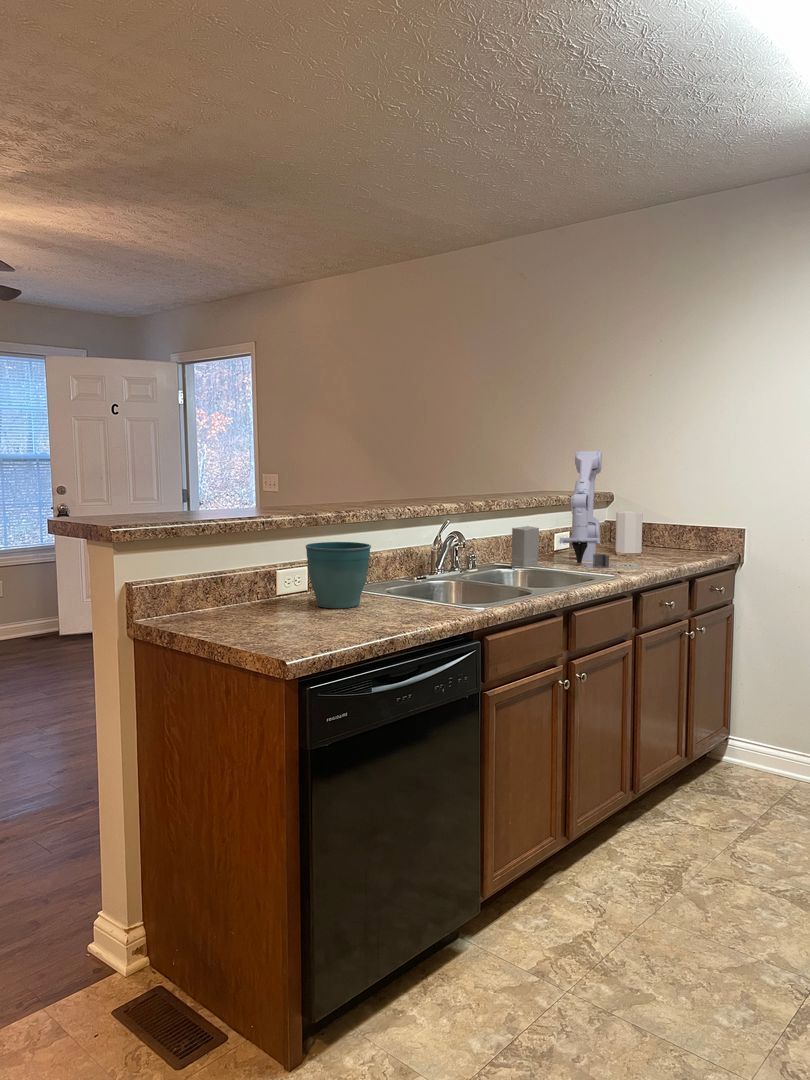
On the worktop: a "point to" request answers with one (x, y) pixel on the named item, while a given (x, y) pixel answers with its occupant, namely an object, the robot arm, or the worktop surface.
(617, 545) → the white upright block
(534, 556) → the skincare box
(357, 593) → the flower pot
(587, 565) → the rail board
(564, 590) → the worktop surface
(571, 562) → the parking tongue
